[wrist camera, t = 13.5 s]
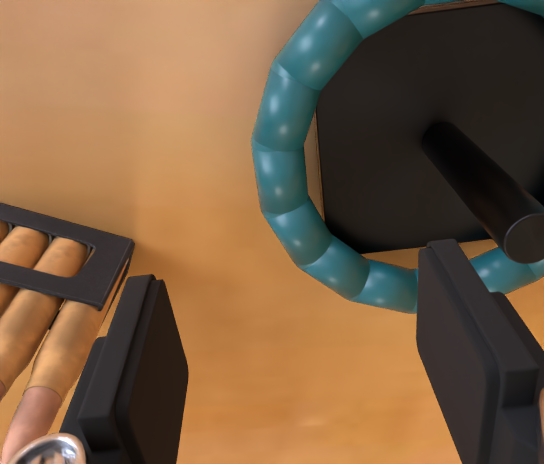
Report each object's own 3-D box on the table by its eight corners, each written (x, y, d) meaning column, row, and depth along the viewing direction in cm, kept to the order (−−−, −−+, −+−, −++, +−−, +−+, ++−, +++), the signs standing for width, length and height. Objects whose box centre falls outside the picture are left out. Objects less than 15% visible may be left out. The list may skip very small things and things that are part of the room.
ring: (227, -37, 18) (223, -34, 16) (674, -96, 17) (721, -101, 15) (276, 309, 25) (277, 337, 23) (590, 275, 24) (615, 301, 23)
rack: (306, 23, 20) (339, 77, 12) (570, -12, 19) (792, 20, 11) (324, 245, 25) (356, 390, 17) (536, 220, 24) (673, 357, 16)
